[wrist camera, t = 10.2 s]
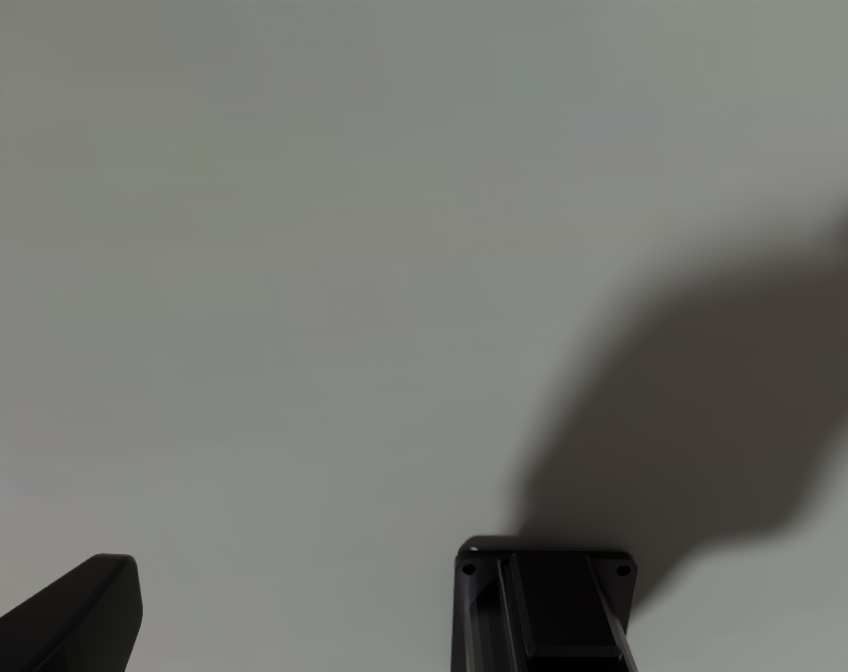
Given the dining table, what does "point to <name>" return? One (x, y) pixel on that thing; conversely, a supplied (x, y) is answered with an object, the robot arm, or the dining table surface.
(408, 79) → the dining table surface
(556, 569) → the robot arm
